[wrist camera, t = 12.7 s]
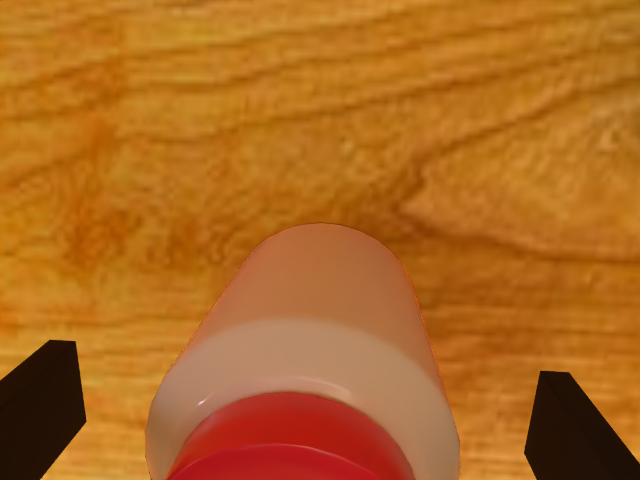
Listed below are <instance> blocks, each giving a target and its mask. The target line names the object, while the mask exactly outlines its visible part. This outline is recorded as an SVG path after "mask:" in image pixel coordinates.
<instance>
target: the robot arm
mask: <svg viewBox="0 0 640 480" xmlns="http://www.w3.org/2000/svg"><path fill="white" fill-rule="evenodd" d="M85 423H86V414H85V407H84V400H83V392H82V385H81V377H80V370H79V363H78V355H77V348H76V341H62V340H49V341H48V342H46V343H45V344H44V345H43V346H42V347H40V348H39V349H38V350H37V351H36V352H34V353H33V354H32V355H31V356H30V357H28V358H27V359H26V360H25V361H23V362H22V363H21V364H20V365H19V366H17V367H16V368H15V369H14V370H13V371H11V372H10V373H9V374H8V375H6V376H5V377H4V378H3V379H2V380H0V480H40V479H41V478H42V477H43V475H44V474H45V473H46V472H47V470H48V469H49V468H50V467H51V465H52V464H53V463H54V462H55V460H56V459H57V458H58V457H59V455H60V454H61V453H62V452H63V450H64V449H65V448H66V447H67V445H68V444H69V443H70V442H71V440H72V439H73V438H74V437H75V435H76V434H77V433H78V432H79V430H80V429H81V428H82V427H83V425H84V424H85ZM524 454H525V456H526V458H527V460H528V462H529V464H530V466H531V468H532V471H533V473H534V475H535V477H536V479H537V480H640V464H639V462H638V461H637V460H636V458H635V457H634V456H633V455H632V453H631V452H630V451H629V449H628V448H627V447H626V445H625V444H624V443H623V442H622V440H621V439H620V438H619V436H618V435H617V434H616V433H615V431H614V430H613V429H612V427H611V426H610V425H609V424H608V422H607V421H606V420H605V418H604V417H603V416H602V415H601V413H600V412H599V411H598V409H597V408H596V407H595V405H594V404H593V403H592V402H591V400H590V399H589V398H588V396H587V395H586V394H585V393H584V391H583V390H582V389H581V387H580V386H579V385H578V384H577V382H576V381H575V380H574V378H573V377H572V376H571V374H570V373H569V372H555V371H540V375H539V380H538V385H537V390H536V395H535V400H534V405H533V410H532V415H531V420H530V425H529V430H528V435H527V440H526V445H525V450H524Z"/></svg>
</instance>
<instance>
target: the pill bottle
mask: <svg viewBox="0 0 640 480" xmlns="http://www.w3.org/2000/svg"><path fill="white" fill-rule="evenodd" d="M145 458H146V462H147V466H148V470H149V474H150V478H151V480H458V479H459V475H460V440H459V436H458V432H457V428H456V425H455V421H454V417H453V414H452V410H451V406H450V403H449V400H448V397H447V393H446V390H445V387H444V384H443V381H442V377H441V374H440V371H439V368H438V364H437V361H436V358H435V355H434V351H433V348H432V345H431V342H430V338H429V335H428V332H427V329H426V325H425V322H424V319H423V316H422V312H421V309H420V306H419V303H418V299H417V296H416V293H415V290H414V286H413V283H412V281H411V279H410V277H409V275H408V274H407V272H406V270H405V268H404V266H403V265H402V264H401V262H400V261H399V260H398V259H397V258H396V256H395V255H394V254H393V253H392V252H391V251H390V250H389V249H388V248H386V247H385V246H384V245H383V244H382V243H380V242H379V241H378V240H376V239H374V238H373V237H371V236H369V235H367V234H365V233H363V232H361V231H359V230H356V229H352V228H349V227H346V226H342V225H336V224H326V223H316V224H304V225H299V226H296V227H292V228H289V229H285V230H283V231H281V232H279V233H277V234H275V235H273V236H271V237H269V238H267V239H266V240H265V241H264V242H262V243H261V244H260V245H259V246H257V247H256V248H255V249H254V250H253V251H252V252H251V253H250V254H249V256H248V257H247V258H246V259H245V260H244V262H243V263H242V264H241V266H240V267H239V268H238V270H237V271H236V273H235V274H234V276H233V277H232V279H231V280H230V282H229V283H228V284H227V286H226V287H225V289H224V290H223V292H222V293H221V295H220V296H219V297H218V299H217V300H216V302H215V303H214V305H213V306H212V308H211V309H210V311H209V312H208V313H207V315H206V316H205V318H204V319H203V321H202V322H201V324H200V325H199V326H198V328H197V329H196V331H195V332H194V334H193V335H192V337H191V338H190V340H189V341H188V342H187V344H186V345H185V347H184V348H183V350H182V351H181V353H180V354H179V355H178V357H177V358H176V360H175V361H174V363H173V364H172V366H171V367H170V369H169V370H168V371H167V373H166V374H165V376H164V378H163V380H162V382H161V384H160V386H159V388H158V390H157V392H156V394H155V396H154V398H153V400H152V402H151V406H150V411H149V415H148V420H147V424H146V429H145Z"/></svg>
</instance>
